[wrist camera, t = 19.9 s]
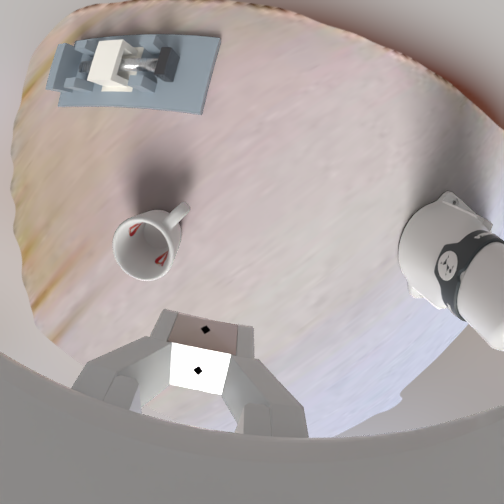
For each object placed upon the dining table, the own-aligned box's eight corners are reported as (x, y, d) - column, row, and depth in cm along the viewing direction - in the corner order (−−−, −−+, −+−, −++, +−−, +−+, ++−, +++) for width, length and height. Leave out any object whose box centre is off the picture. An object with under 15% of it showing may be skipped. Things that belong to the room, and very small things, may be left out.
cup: (175, 177, 35) (155, 184, 28) (214, 219, 37) (205, 238, 30) (125, 229, 38) (100, 247, 30) (162, 267, 40) (145, 293, 32)
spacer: (105, 86, 29) (86, 80, 24) (116, 51, 27) (99, 41, 22) (127, 87, 29) (110, 79, 24) (138, 51, 27) (123, 39, 22)
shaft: (179, 57, 28) (171, 47, 24) (173, 82, 29) (163, 74, 25) (92, 58, 27) (77, 51, 23) (86, 81, 28) (70, 76, 24)
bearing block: (221, 41, 29) (215, 22, 23) (201, 115, 32) (191, 107, 26) (80, 43, 27) (58, 32, 21) (63, 107, 31) (37, 104, 25)
